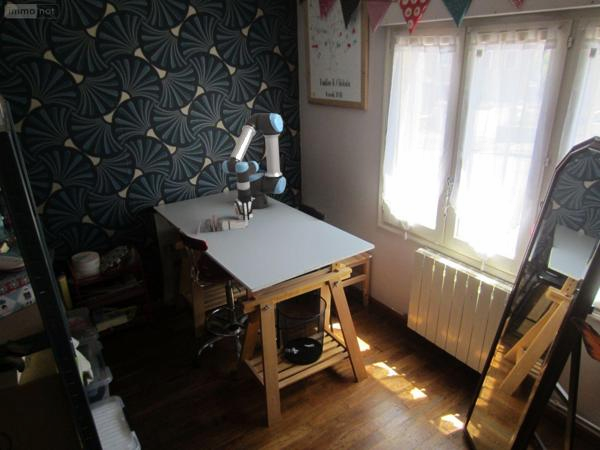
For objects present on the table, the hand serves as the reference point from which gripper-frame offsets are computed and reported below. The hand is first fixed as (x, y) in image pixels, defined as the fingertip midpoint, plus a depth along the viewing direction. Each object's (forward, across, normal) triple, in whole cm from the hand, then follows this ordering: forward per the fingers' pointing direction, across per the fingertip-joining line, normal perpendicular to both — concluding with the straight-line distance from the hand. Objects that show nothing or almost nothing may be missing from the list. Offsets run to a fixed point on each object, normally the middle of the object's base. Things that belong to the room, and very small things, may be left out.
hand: (246, 224), depth 257 cm
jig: (+2, +12, 0) cm, 13 cm away
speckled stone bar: (+1, +9, 0) cm, 9 cm away
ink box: (+3, +1, -17) cm, 17 cm away
